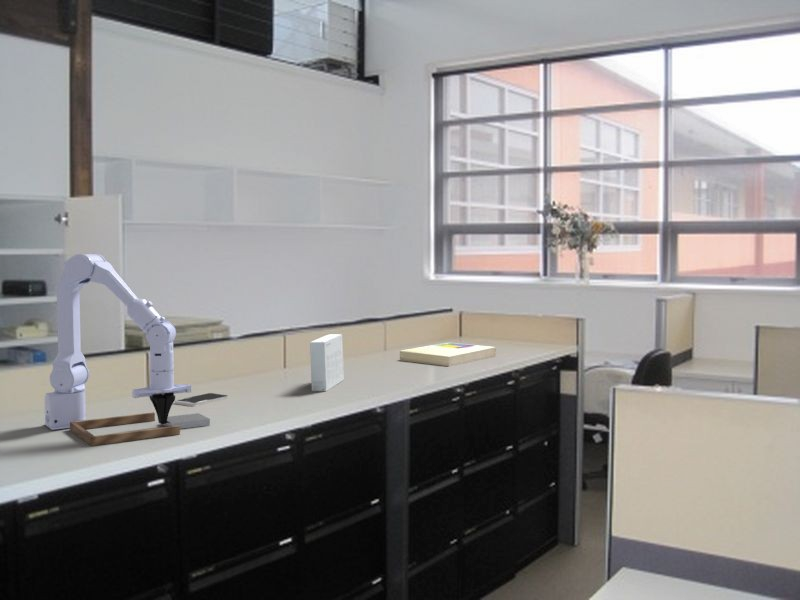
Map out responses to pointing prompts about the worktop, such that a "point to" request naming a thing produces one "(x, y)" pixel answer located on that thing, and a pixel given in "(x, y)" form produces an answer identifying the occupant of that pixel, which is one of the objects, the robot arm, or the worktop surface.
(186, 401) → the smartphone
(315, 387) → the skincare box
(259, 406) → the worktop surface
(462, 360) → the puzzle box
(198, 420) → the cover plate
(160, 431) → the walnut u-shaped frame
